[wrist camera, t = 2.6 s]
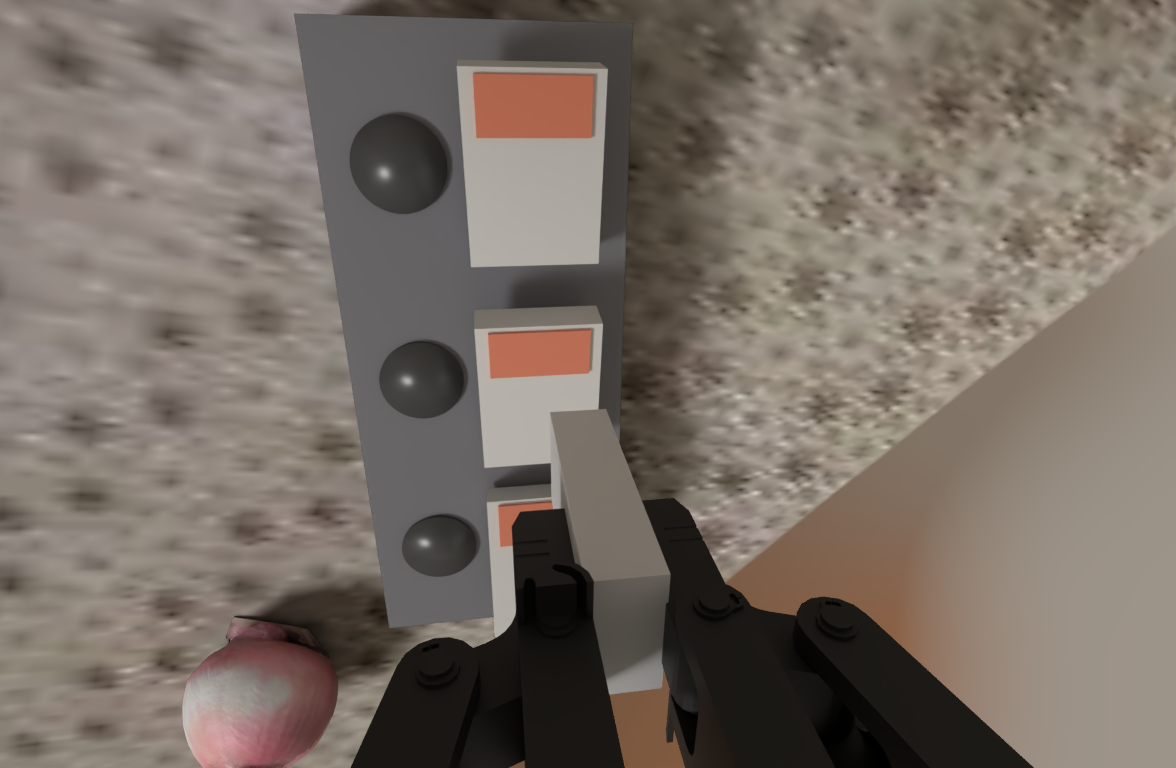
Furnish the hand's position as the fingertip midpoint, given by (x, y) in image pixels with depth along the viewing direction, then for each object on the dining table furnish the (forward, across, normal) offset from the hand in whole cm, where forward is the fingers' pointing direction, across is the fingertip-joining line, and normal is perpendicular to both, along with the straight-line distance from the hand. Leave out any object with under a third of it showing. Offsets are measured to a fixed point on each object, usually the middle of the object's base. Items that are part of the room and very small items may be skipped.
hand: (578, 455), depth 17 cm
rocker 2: (+10, 0, -2) cm, 10 cm away
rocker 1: (+10, 0, +6) cm, 12 cm away
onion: (+16, -16, -22) cm, 31 cm away
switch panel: (+16, -2, -2) cm, 16 cm away
